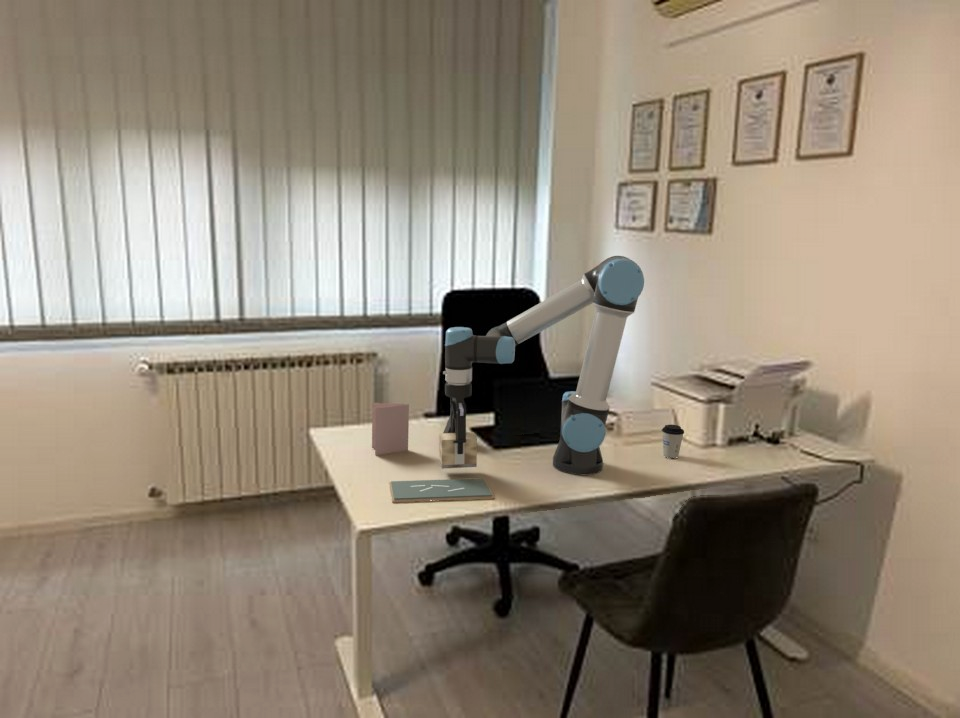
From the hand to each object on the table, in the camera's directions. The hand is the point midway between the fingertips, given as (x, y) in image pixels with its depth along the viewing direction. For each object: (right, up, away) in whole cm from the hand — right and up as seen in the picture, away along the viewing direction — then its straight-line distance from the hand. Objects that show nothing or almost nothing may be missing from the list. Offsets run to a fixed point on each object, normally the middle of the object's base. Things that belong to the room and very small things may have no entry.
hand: (457, 459), depth 212 cm
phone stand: (-2, +1, +28) cm, 28 cm away
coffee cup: (+67, -2, +23) cm, 71 cm away
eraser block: (0, -1, 0) cm, 1 cm away
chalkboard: (-4, -7, -13) cm, 15 cm away
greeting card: (-22, 0, +17) cm, 28 cm away
